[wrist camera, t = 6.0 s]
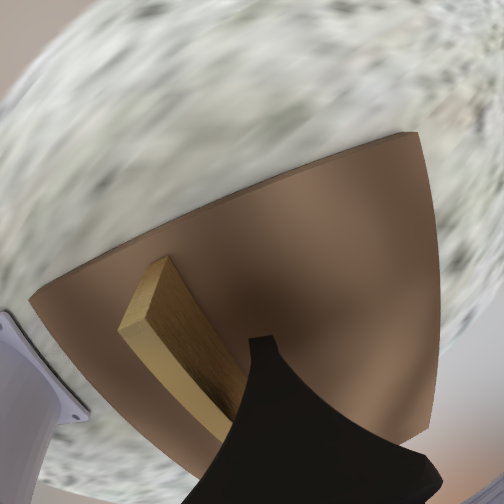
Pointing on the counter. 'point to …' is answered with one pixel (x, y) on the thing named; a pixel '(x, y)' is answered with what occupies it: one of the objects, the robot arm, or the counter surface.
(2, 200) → the counter surface
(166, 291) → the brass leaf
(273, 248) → the hinge base
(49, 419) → the robot arm
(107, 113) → the counter surface
